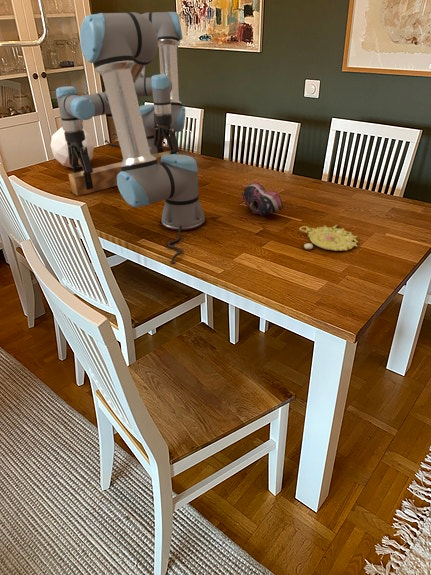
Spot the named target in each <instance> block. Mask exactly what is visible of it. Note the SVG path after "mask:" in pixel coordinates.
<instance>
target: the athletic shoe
mask: <svg viewBox="0 0 431 575" xmlns="http://www.w3.org/2000/svg"><path fill="white" fill-rule="evenodd" d="M241 197H242V199H243V201H238V203H239V204H241V205H245V206H246V207H247V208H248V210H249V211H250V210H251V213H252V214H255V215H260V217H266V216H267V215H270V214H274V213H275V212H279V211H282V210H283V209H284V205H283V201H282V198H281V196H280V195H279V194H278V192H277V191H274V190H269V191H267V190H266V189H265V187H264V186H263V185H262V184H261V183H258V182H251V183H249V184H247V186H246V187H245V188H244V190H243V191H242V192H241Z"/></svg>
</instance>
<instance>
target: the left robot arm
mask: <svg viewBox="0 0 431 575" xmlns="http://www.w3.org/2000/svg"><path fill="white" fill-rule="evenodd" d="M141 15H143V16H145V17H146V18H147V19H148V20H149V21H150V22H151V23H152V24H153V26H154V28H155V30H156V33H157V37H158V54H159V55H158V56H159V74H154V75H152V76H151V77H145V74H146V66H145V67H144V68H143V70H142V72H141V73H140V75H139V77H138V79H137V80H136V82H135V84H134V86H135V90H136V94H137V98H139V97H152V99H153V104H142V105H139V107H140V111H141V116H142V120H143V124H144V128H145V133H146V137H147V141H148V145H149V150H150V154H151V155H153V154H157V153H162V152H164V145H163V142H164V139H165V140H166V142H167V145H168V148H169V151H171V152H170V154H176V153H177V152H178V153H179V152H180V148H179V144H178V139H177V135H176V133H181V132H183V131H184V128H185V124H186V107H185V106H183V102H182V101H181V100H180V95H179V94H180V93H179V92H180V91H179V69H178V47H179V46H180V44H181V43H180V42H181V41H182V40H183V31H182V25H181V20H180V15H179V13H178V12H176V11H158V12H157V11H156V12H150V11H149V12H144V13H142V14H141ZM103 143H104V144H105V143H107V145H109V146H115V147H120V144H117V143H116V144H115V143H110V142H109V141H108V140H107V139H105V140H104V142H103Z"/></svg>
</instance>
